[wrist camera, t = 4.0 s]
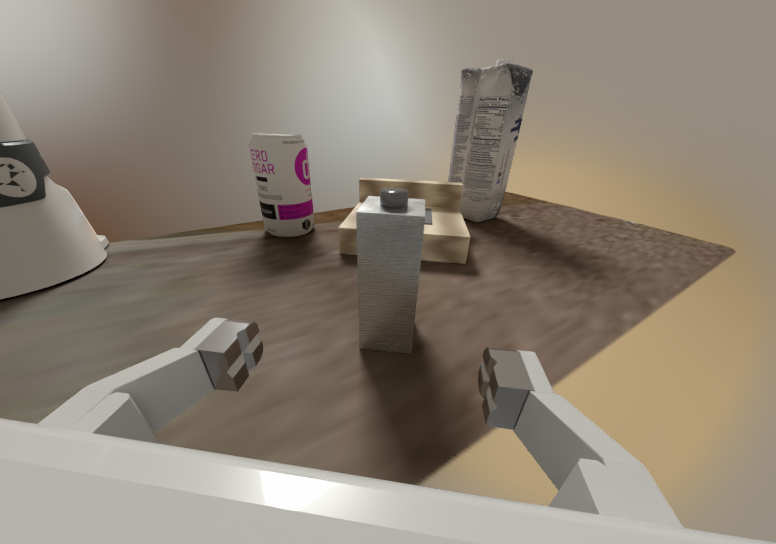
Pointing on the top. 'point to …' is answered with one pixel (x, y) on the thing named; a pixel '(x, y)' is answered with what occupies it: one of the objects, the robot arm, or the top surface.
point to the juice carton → (487, 135)
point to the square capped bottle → (389, 269)
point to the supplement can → (283, 183)
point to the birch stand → (442, 218)
